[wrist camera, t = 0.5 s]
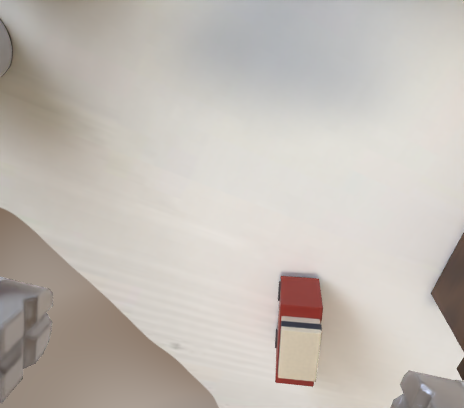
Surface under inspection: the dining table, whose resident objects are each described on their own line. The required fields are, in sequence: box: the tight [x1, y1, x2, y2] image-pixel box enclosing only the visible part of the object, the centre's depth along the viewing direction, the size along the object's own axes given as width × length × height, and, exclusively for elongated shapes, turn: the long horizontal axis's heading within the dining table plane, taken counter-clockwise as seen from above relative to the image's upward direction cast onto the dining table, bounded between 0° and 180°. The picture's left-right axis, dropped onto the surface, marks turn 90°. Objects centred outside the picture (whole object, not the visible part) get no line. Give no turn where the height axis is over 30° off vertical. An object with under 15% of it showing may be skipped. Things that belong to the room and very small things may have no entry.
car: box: [275, 276, 323, 386], centre depth 50 cm, size 13×5×10 cm, turn 0°
